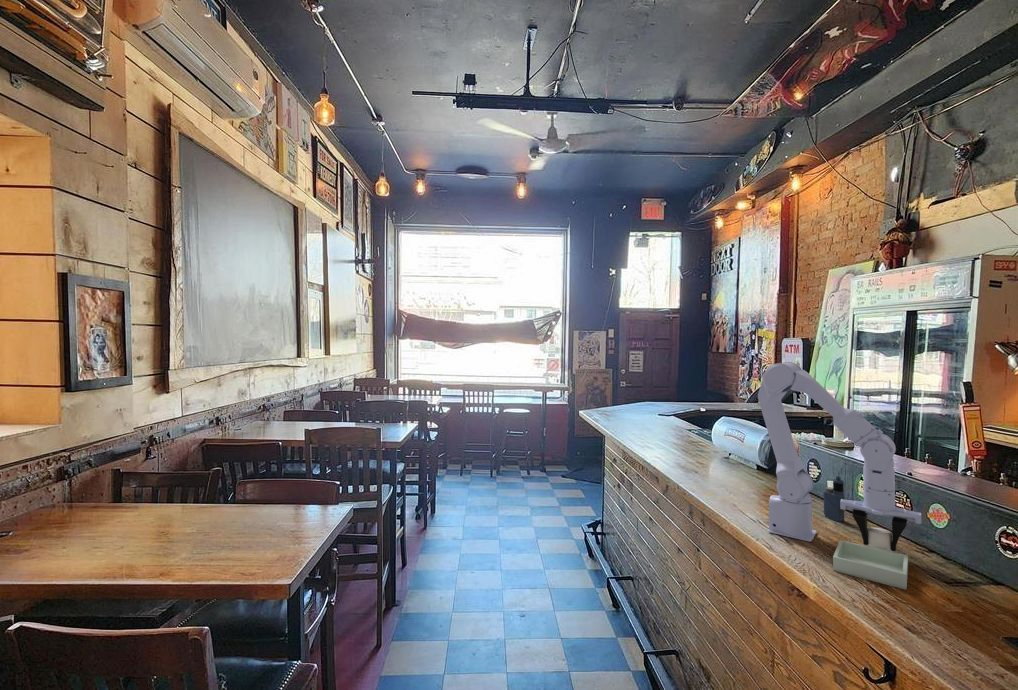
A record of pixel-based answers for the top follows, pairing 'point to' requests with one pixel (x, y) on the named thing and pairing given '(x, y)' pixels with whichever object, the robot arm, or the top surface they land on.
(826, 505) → the vaping device
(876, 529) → the white rounded cylinder
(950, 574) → the top surface
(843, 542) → the bus tub
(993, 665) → the top surface
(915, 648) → the top surface
